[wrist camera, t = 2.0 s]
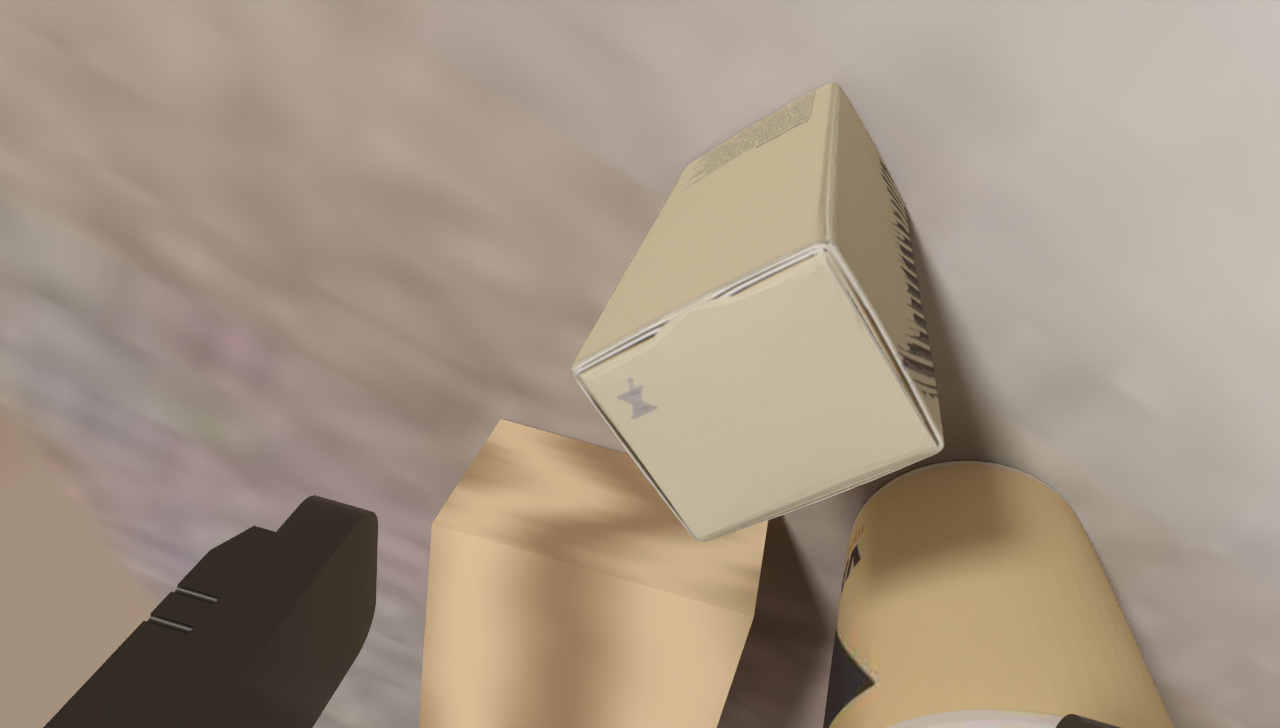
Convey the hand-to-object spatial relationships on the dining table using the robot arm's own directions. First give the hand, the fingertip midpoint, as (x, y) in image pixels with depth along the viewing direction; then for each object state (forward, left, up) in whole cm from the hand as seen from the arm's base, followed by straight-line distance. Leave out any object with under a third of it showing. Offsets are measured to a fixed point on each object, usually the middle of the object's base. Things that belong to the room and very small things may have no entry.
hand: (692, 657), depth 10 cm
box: (0, 0, -18) cm, 18 cm away
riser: (+3, +16, -18) cm, 24 cm away
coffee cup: (-9, +11, -18) cm, 23 cm away
